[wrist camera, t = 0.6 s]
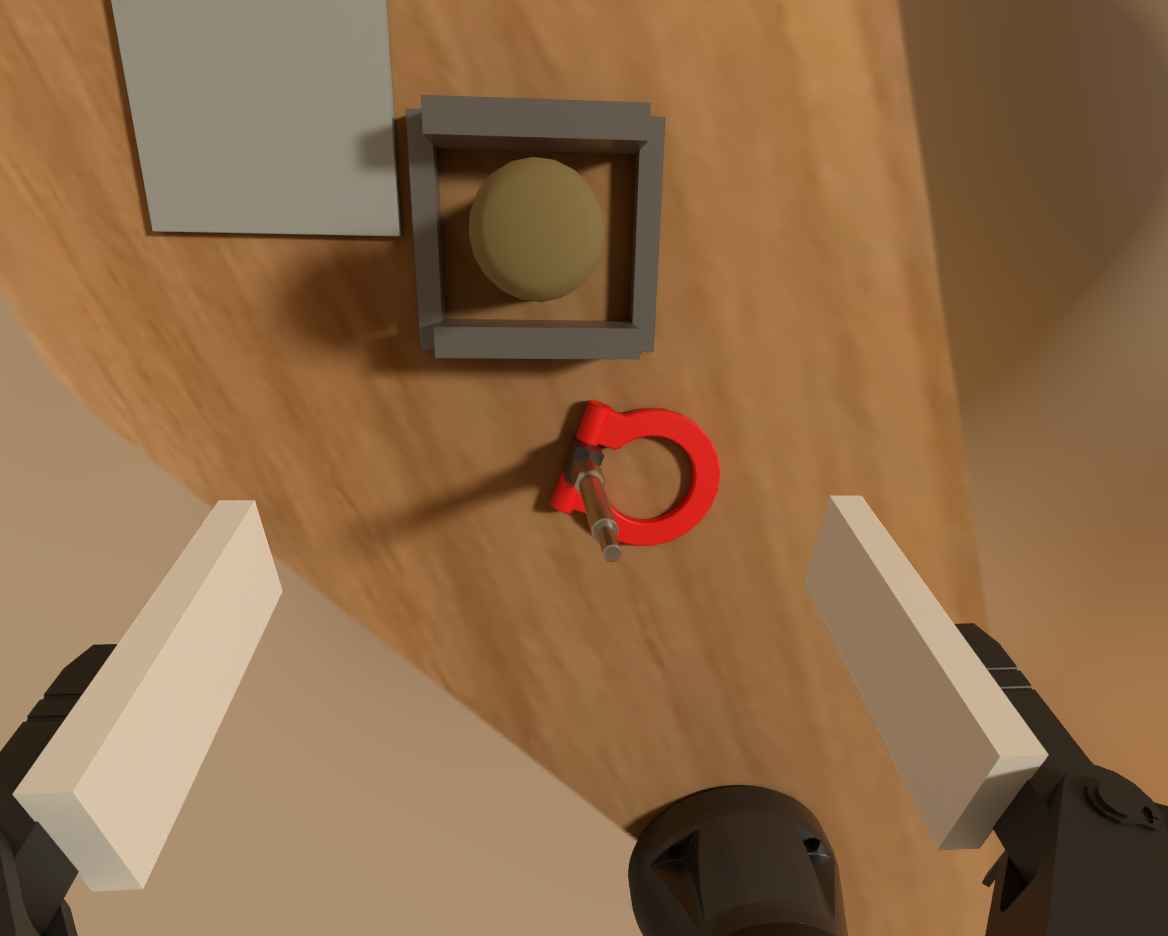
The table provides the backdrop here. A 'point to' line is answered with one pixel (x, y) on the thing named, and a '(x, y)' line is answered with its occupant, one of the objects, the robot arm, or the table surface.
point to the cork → (536, 229)
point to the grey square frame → (536, 131)
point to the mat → (263, 114)
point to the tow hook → (586, 479)
